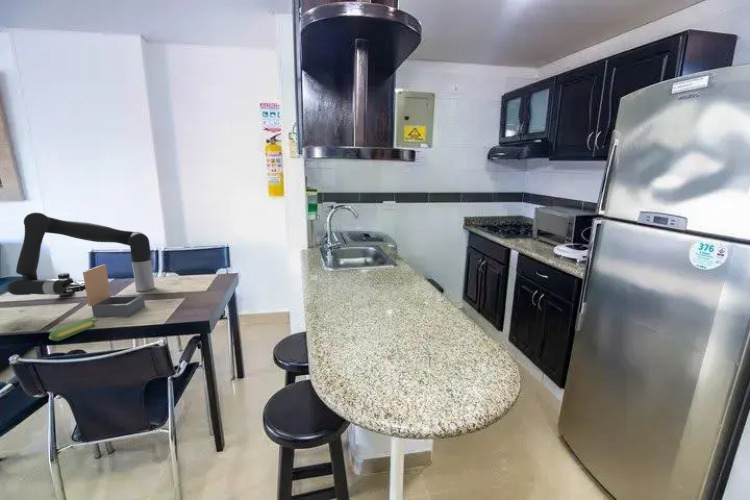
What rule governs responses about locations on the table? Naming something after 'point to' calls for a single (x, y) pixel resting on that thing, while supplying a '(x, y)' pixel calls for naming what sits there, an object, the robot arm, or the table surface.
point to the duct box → (118, 306)
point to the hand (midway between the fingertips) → (96, 286)
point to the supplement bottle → (65, 276)
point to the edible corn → (71, 329)
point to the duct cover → (96, 284)
